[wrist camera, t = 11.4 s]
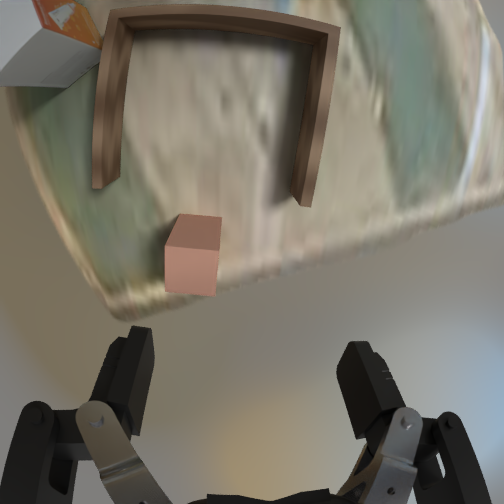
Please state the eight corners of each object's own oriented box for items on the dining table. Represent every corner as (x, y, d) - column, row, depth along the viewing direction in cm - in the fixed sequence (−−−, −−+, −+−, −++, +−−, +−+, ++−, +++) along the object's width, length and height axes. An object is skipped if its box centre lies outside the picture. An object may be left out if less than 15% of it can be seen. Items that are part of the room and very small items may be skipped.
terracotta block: (179, 213, 30) (164, 245, 23) (221, 217, 31) (219, 250, 24) (178, 251, 32) (165, 291, 25) (218, 255, 33) (215, 296, 26)
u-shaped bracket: (127, 23, 20) (110, 9, 16) (323, 39, 23) (340, 27, 18) (111, 176, 28) (92, 188, 23) (298, 192, 30) (310, 207, 26)
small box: (112, 53, 22) (43, 27, 10) (67, 89, 23) (-13, 90, 11) (87, 6, 18) (22, -29, 7) (44, 41, 19) (-30, 27, 8)
